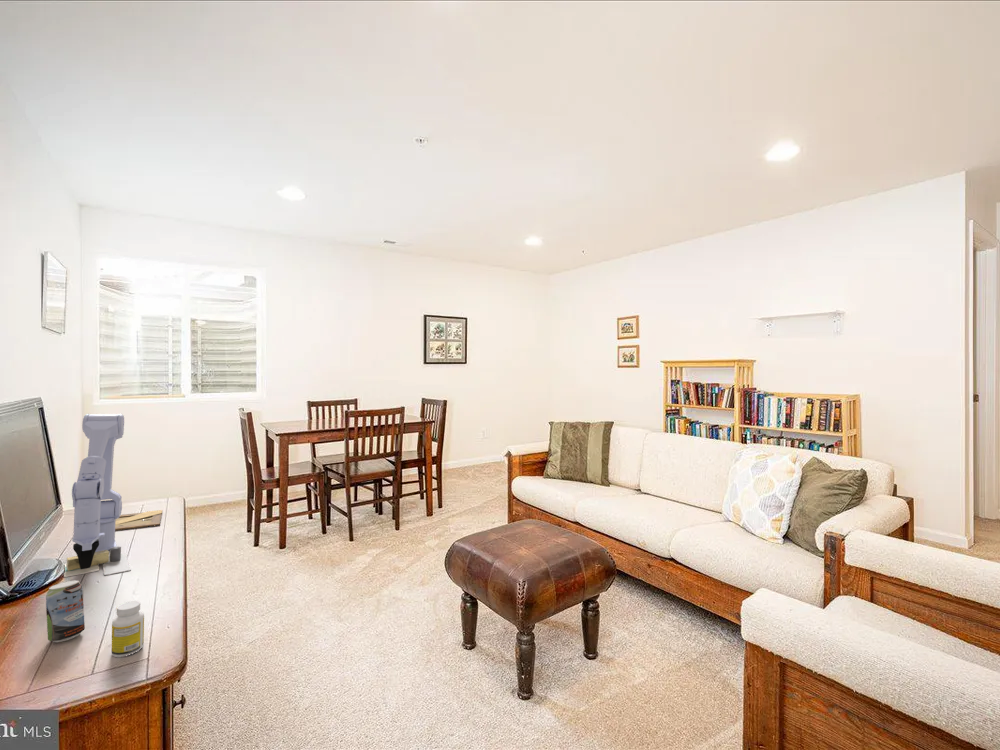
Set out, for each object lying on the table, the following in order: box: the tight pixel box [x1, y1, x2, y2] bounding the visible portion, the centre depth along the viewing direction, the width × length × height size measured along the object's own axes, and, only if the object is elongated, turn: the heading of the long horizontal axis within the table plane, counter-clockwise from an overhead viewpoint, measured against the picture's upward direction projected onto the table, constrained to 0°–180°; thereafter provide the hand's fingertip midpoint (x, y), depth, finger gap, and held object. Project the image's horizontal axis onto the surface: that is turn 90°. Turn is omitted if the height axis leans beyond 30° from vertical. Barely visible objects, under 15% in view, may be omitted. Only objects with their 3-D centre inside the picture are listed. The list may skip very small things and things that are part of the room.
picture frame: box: [115, 509, 163, 532], centre depth 180 cm, size 19×2×24 cm
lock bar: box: [66, 550, 110, 571], centre depth 141 cm, size 9×2×3 cm, turn 140°
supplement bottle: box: [111, 600, 145, 658], centre depth 101 cm, size 5×5×10 cm
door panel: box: [63, 546, 132, 578], centre depth 141 cm, size 16×14×4 cm
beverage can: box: [45, 579, 86, 643], centre depth 105 cm, size 6×7×12 cm
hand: (85, 567), depth 138 cm, fingers closed
